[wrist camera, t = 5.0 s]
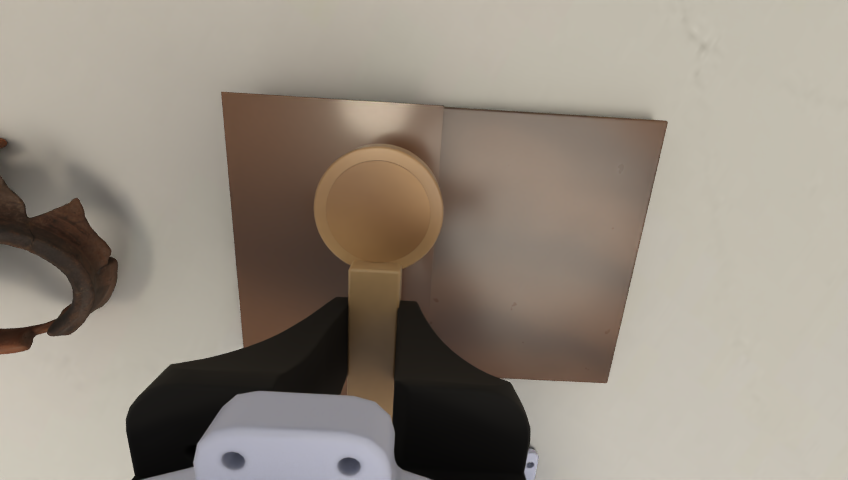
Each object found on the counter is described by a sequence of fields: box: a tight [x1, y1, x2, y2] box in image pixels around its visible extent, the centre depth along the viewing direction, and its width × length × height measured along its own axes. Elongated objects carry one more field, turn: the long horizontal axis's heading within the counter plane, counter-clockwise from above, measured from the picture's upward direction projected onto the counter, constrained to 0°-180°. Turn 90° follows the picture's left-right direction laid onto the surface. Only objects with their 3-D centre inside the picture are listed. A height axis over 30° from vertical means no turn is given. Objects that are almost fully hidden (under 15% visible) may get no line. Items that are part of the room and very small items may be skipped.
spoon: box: [314, 144, 444, 420], centre depth 14 cm, size 12×4×2 cm, turn 176°
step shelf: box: [221, 92, 668, 395], centre depth 21 cm, size 15×20×4 cm
